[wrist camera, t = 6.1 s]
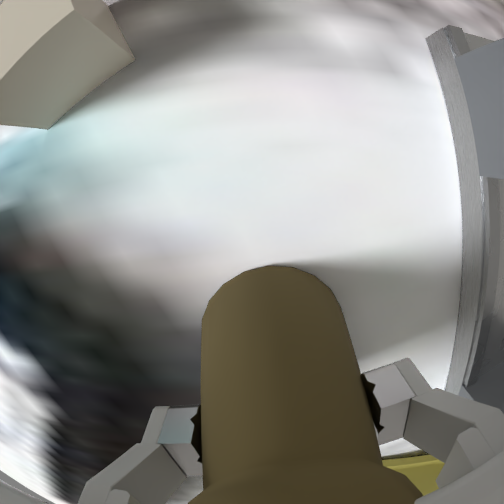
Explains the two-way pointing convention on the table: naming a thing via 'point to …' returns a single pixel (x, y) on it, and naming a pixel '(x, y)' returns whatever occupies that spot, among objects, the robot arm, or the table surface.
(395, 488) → the cork
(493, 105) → the block
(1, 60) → the beige block
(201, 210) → the table surface
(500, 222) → the rail
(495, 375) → the block
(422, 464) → the plastic component
